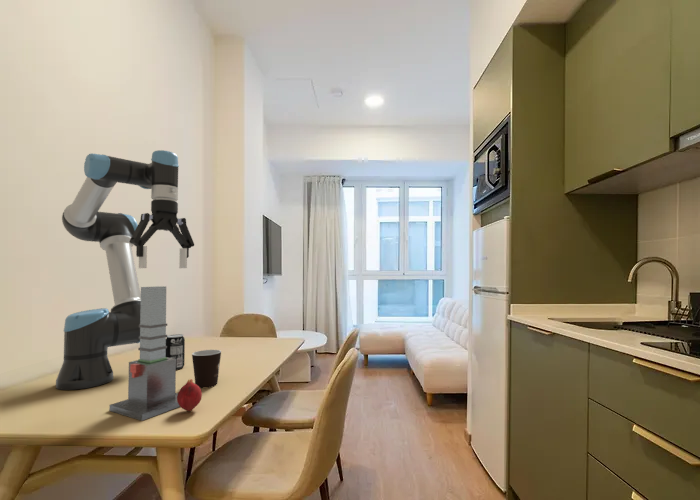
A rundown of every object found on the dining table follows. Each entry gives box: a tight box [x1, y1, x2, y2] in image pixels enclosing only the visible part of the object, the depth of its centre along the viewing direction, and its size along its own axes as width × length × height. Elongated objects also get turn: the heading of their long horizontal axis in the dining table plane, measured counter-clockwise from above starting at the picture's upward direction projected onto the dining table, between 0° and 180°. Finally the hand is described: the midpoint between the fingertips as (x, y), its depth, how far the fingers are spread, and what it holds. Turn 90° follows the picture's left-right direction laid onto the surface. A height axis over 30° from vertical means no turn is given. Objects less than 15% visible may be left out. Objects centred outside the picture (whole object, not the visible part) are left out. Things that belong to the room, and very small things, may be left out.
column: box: [137, 285, 168, 364], centre depth 99 cm, size 5×5×22 cm
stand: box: [108, 357, 181, 421], centre depth 98 cm, size 14×14×12 cm
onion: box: [177, 378, 203, 413], centre depth 94 cm, size 6×6×8 cm
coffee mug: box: [191, 349, 222, 389], centre depth 118 cm, size 12×9×10 cm
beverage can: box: [166, 333, 186, 371], centre depth 137 cm, size 7×7×12 cm
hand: (163, 268), depth 115 cm, fingers open, 13 cm apart
